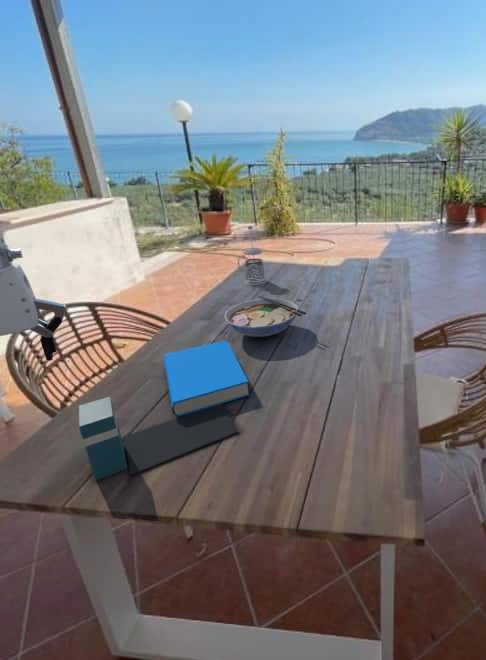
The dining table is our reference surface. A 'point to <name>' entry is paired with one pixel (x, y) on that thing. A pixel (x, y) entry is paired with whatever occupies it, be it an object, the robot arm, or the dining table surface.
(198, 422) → the mat
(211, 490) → the dining table surface
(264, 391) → the dining table surface
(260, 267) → the french press
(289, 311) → the ramen bowl
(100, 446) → the carton
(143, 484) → the dining table surface
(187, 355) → the book
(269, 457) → the dining table surface
